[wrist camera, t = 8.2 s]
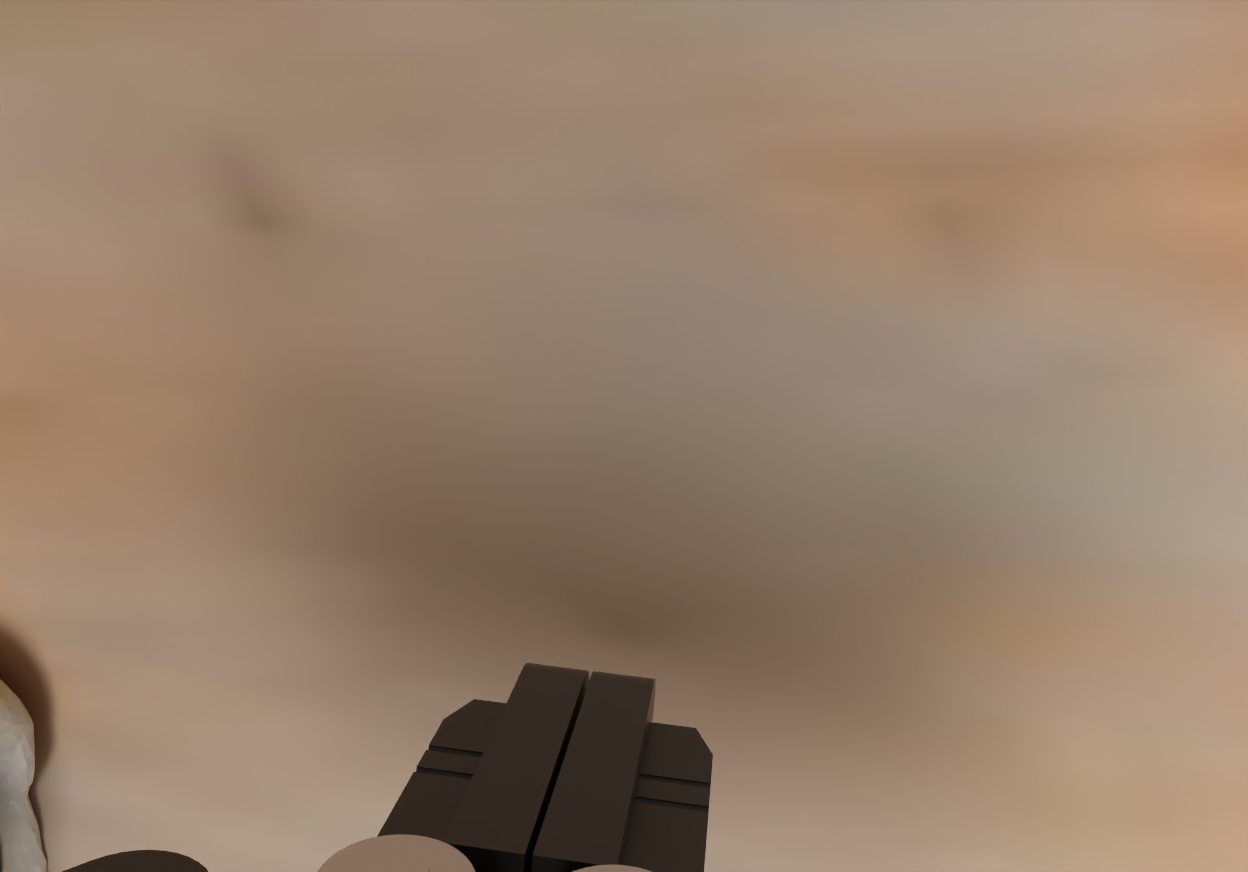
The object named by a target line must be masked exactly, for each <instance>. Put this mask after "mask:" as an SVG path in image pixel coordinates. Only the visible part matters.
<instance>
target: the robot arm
mask: <svg viewBox="0 0 1248 872" xmlns="http://www.w3.org/2000/svg"><path fill="white" fill-rule="evenodd" d="M654 697H655V679H650V678H642V677H634V676H626V675H618V674H611V673H603V672H595V671H593V673H592V675H591V678H590V681H589V671H586V670H578V669H570V668H562V667H554V666H546V665H539V664H531V663H526V664H525V665H524V667H523V669H522V671H521V674H520V676H519V678H518V680H517V682H516V684H515V686H514V689H513V691H512V693H511V695H510V697H509V699H508V701H507V704H506V703H499V702H491V701H483V700H476V699H474V700H472V701H471V702H469V703H468V704H466V705H465V706H463V707H462V708H460V709H459V710H457V711H456V712H454V713H453V714H451V715H449V716H448V717H446V718H445V719H444V720H443V721H442V723H441V725H440V727H439V729H438V730H437V732H436V734H435V736H434V737H433V739H432V741H431V743H430V744H429V749H428V750H426V751H425V753H424V755H423V757H422V759H421V760H420V762H419V764H418V766H417V770H416V772H414V773H413V774H412V776H411V778H410V780H409V782H408V783H407V785H406V787H405V789H404V790H403V792H402V794H401V796H400V797H399V799H398V801H397V803H396V804H395V806H394V808H393V810H392V812H391V813H390V815H389V817H388V819H387V820H386V822H385V824H384V826H383V827H382V829H381V831H380V833H379V834H378V836H377V837H373V838H369V839H366V840H363V841H359V842H357V843H354V844H352V845H350V846H347V847H346V848H344V849H342V850H340V851H339V852H337V853H336V854H334V855H333V856H332V857H330V858H329V859H328V860H327V861H326V862H325V863H324V864H323V865H322V866H321V867H320V869H319V870H318V871H317V872H704V862H705V849H706V836H707V823H708V809H709V797H710V784H711V771H712V758H713V755H712V753H711V751H710V750H709V748H708V747H707V745H706V743H705V742H704V740H703V739H702V737H701V735H700V734H699V732H698V731H697V729H696V728H690V727H683V726H675V725H667V724H660V723H652V718H653V708H654ZM63 872H208V871H207V869H206V868H205V867H204V866H202V865H201V864H200V863H199V862H197V861H195V860H193V859H192V858H190V857H187V856H184V855H181V854H178V853H173V852H168V851H159V850H137V851H129V852H121V853H117V854H112V855H108V856H104V857H101V858H98V859H95V860H92V861H89V862H87V863H84V864H81V865H79V866H76V867H73V868H71V869H68V870H65V871H63Z"/></svg>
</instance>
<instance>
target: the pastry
mask: <svg viewBox="0 0 1248 872" xmlns="http://www.w3.org/2000/svg"><path fill="white" fill-rule="evenodd" d="M34 771H35V744H34V724H33V722H32V719H31V717H30V715H29V713H28V711H27V710H26V708H25V706H24V705H23V703H22V702H21V700H20V699H19V698H18V697H17V696H16V694H15V693H14V692H13V691H12V690H11V689H10V688H9V687H8V686H7V685H6V684H5V683H4V682H3V681H2V680H1V679H0V872H47V861H46V858H45V855H44V852H43V850H42V844H41V838H40V832H39V827H38V822H37V820H36V817H35V814H34V811H33V808H32V805H31V802H30V799H29V796H28V791H29V787H30V785H31V784H32V782H33V777H34Z"/></svg>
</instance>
